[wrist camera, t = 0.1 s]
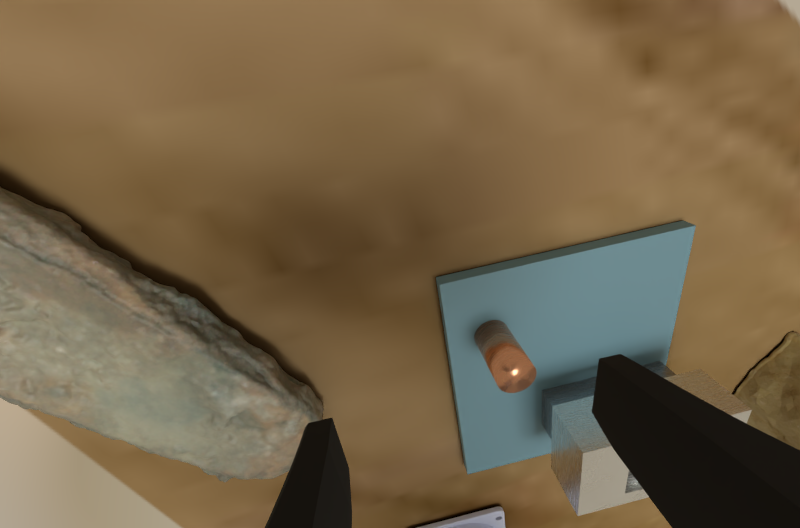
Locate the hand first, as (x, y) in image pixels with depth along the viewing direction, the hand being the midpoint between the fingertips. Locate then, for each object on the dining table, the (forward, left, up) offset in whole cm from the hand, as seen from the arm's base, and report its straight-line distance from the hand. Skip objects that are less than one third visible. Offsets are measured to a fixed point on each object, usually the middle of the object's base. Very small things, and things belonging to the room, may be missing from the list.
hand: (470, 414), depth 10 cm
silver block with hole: (-13, -11, -7) cm, 18 cm away
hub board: (-10, -8, -10) cm, 16 cm away
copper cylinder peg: (-6, -4, -10) cm, 12 cm away
